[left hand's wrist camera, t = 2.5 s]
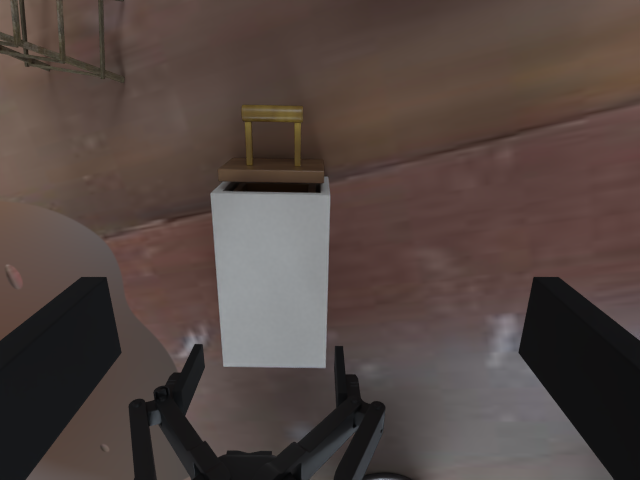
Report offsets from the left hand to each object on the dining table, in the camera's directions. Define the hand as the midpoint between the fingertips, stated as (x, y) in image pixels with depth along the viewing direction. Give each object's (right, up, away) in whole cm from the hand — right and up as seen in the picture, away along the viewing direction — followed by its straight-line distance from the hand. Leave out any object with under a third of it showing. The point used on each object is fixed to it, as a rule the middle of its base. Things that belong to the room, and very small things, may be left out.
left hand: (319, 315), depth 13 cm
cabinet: (-5, +1, +38) cm, 38 cm away
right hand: (-5, -9, +27) cm, 29 cm away
